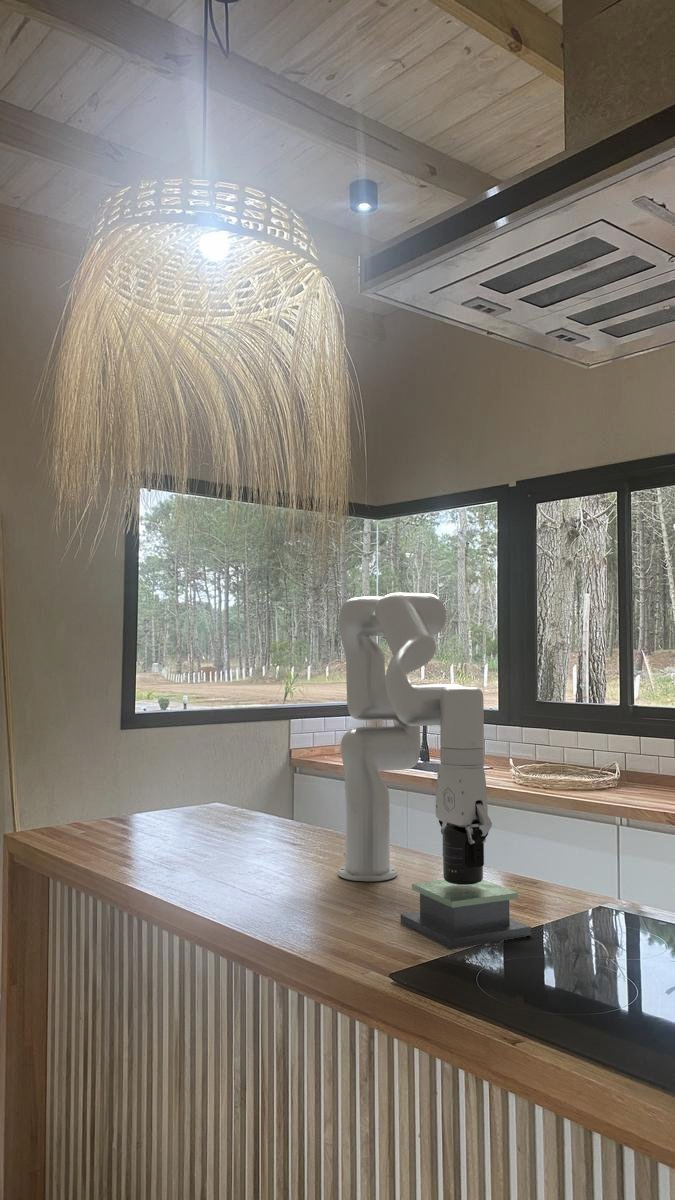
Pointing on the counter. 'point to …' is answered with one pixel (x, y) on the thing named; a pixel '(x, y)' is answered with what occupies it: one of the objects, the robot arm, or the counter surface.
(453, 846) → the supplement bottle
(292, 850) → the counter surface
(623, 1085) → the counter surface
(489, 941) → the stand
